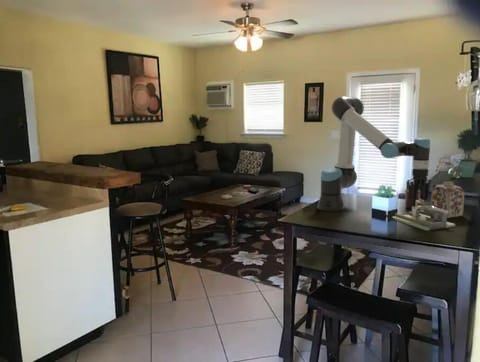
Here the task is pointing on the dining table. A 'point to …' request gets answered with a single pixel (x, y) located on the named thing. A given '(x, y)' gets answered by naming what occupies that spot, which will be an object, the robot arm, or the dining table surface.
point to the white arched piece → (422, 206)
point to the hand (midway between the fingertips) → (417, 211)
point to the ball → (422, 218)
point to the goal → (434, 224)
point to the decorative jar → (448, 199)
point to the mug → (408, 201)
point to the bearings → (441, 216)
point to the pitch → (418, 221)
